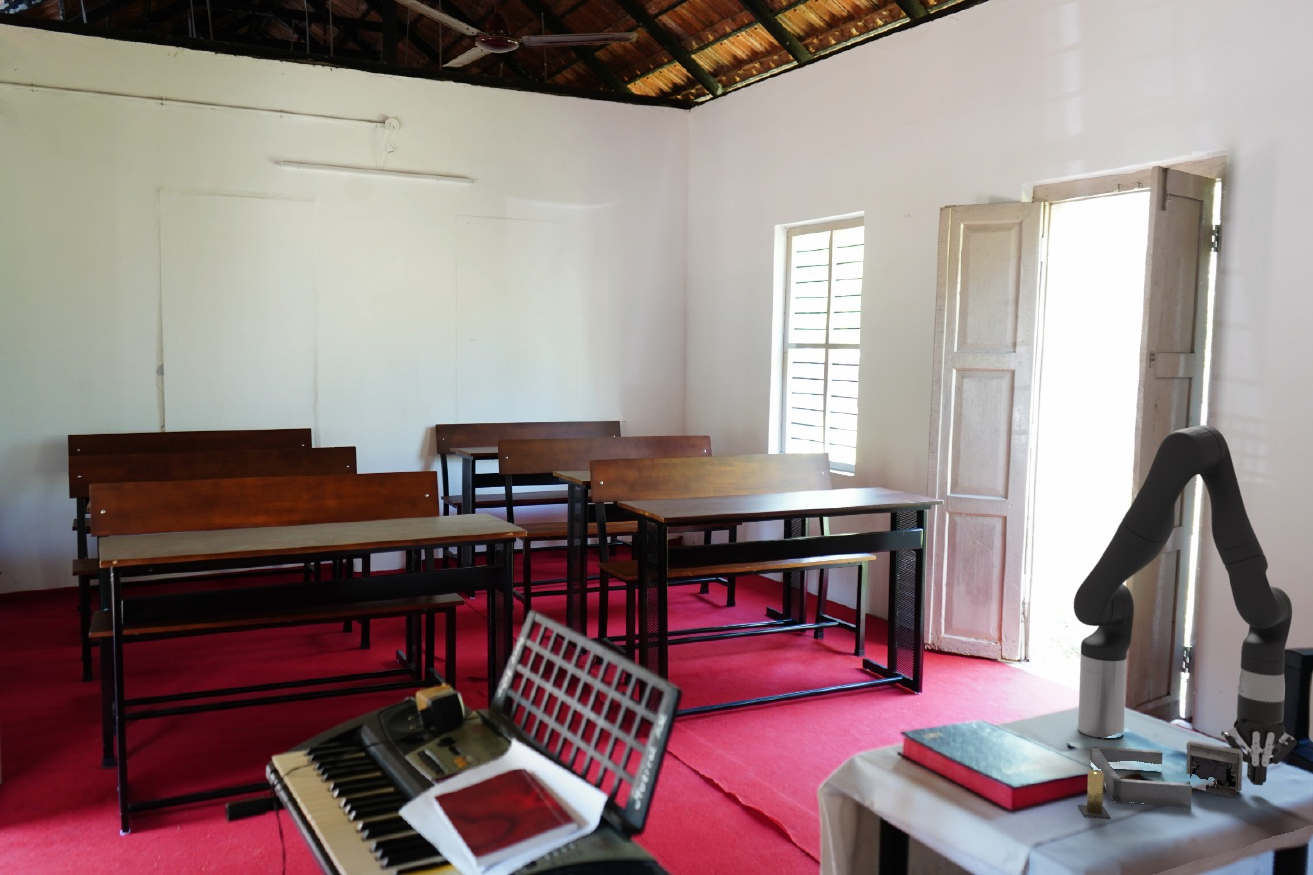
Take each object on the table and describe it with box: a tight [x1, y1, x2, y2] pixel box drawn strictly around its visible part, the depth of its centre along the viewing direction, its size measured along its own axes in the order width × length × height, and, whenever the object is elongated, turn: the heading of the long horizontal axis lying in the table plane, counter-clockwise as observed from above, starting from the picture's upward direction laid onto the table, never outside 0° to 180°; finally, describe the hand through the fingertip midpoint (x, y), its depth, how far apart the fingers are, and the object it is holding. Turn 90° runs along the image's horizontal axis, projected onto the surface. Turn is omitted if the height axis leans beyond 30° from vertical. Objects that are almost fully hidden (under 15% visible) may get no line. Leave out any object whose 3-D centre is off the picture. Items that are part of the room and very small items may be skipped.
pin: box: [1086, 769, 1104, 814], centre depth 181 cm, size 3×3×7 cm
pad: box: [1078, 804, 1111, 820], centre depth 181 cm, size 4×4×1 cm
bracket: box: [1089, 745, 1193, 808], centre depth 193 cm, size 17×13×4 cm
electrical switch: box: [1185, 739, 1243, 798], centre depth 190 cm, size 9×5×9 cm, turn 57°
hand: (1256, 783), depth 189 cm, fingers closed
